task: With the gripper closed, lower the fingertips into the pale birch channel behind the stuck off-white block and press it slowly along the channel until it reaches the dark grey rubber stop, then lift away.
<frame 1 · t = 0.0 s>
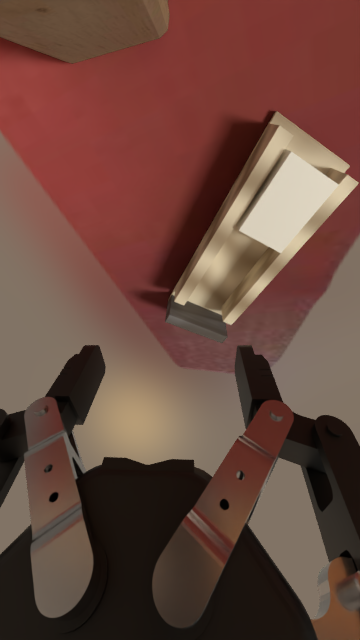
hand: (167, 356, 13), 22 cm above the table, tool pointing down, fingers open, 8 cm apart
off-white block: (280, 203, 26), point 3 cm above the table, slide at 0.0 cm
birch chute: (243, 239, 31), on the table
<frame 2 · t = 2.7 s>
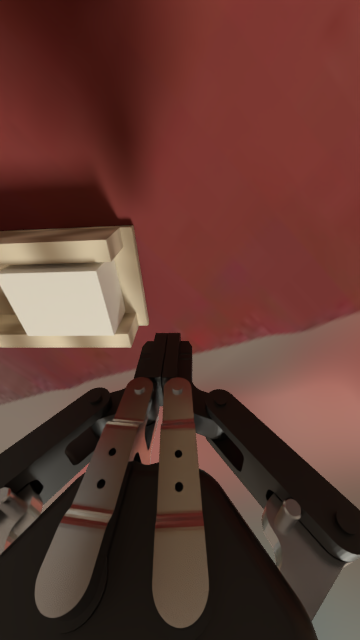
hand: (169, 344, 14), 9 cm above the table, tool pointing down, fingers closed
off-white block: (69, 295, 20), point 3 cm above the table, slide at 0.0 cm
birch chute: (24, 282, 23), on the table
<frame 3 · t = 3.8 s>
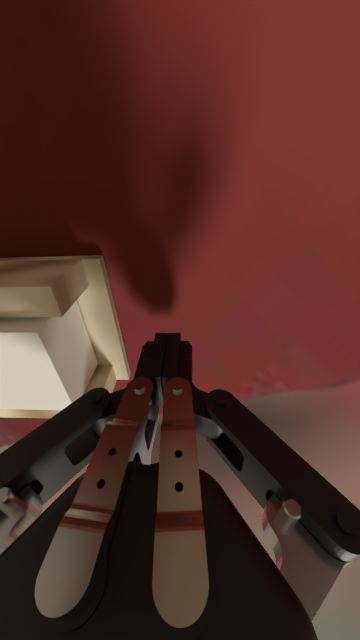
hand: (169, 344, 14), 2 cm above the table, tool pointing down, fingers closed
off-white block: (12, 351, 14), point 3 cm above the table, slide at 0.0 cm
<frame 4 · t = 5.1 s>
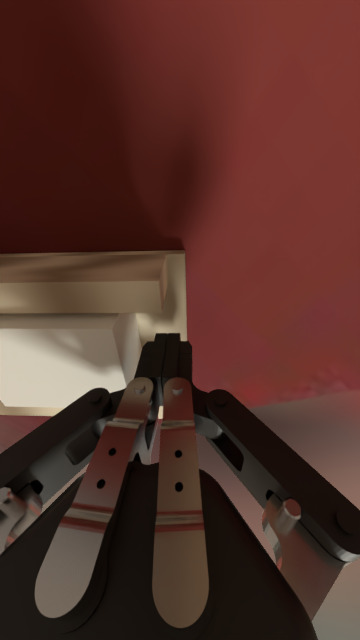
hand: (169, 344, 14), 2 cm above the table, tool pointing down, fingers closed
off-white block: (67, 348, 14), point 3 cm above the table, slide at 1.2 cm, touching gripper
birch chute: (20, 322, 17), on the table
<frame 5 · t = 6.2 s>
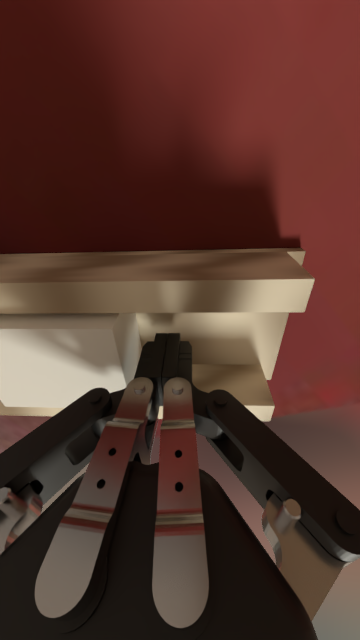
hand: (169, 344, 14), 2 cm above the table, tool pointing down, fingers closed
off-white block: (67, 348, 14), point 3 cm above the table, slide at 7.7 cm, touching gripper
birch chute: (107, 322, 16), on the table
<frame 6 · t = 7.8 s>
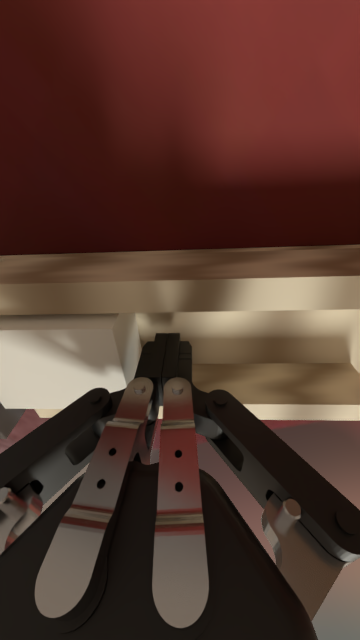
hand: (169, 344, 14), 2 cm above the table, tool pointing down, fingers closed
off-white block: (66, 349, 14), point 3 cm above the table, slide at 14.1 cm, touching gripper
birch chute: (198, 321, 16), on the table
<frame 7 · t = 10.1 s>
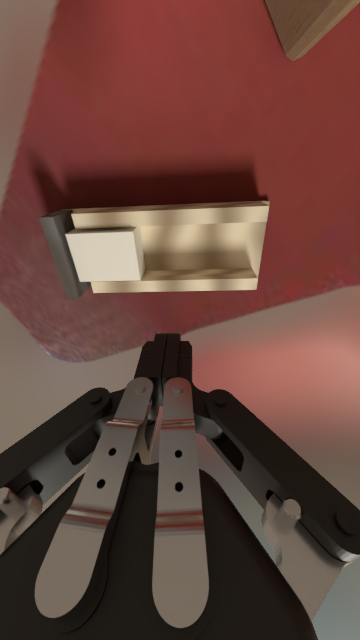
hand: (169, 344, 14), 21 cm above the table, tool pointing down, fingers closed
off-white block: (109, 253, 30), point 3 cm above the table, slide at 14.0 cm
birch chute: (172, 244, 32), on the table
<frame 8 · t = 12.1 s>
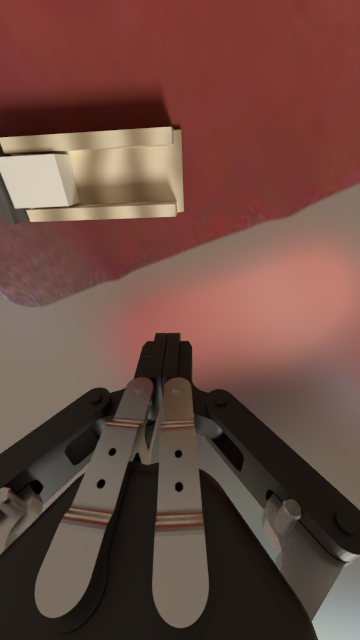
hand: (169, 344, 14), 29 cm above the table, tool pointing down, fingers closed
off-white block: (41, 181, 33), point 3 cm above the table, slide at 14.0 cm
birch chute: (102, 178, 35), on the table
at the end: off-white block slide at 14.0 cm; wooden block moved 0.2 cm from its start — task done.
